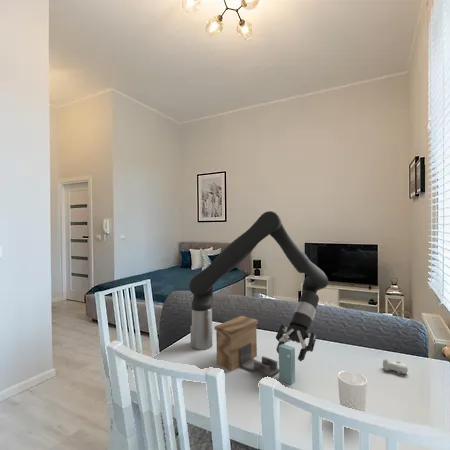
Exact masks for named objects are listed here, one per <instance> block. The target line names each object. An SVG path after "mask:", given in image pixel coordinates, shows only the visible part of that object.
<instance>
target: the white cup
mask: <svg viewBox="0 0 450 450" xmlns="http://www.w3.org/2000/svg"><path fill="white" fill-rule="evenodd" d="M337 380H338V381H337V382H338V386H337V387H338V394H339V395H338V397H339V406H340V405H342V406H345V407H348V408H352V409H355V410H359V411H363V412H365V413H366V405H367V392H368V391H367V390H368V389H367V387H368V379H367V377H365V376H364V375H363V374H361V373H359V372H356V371H354V370H353V371H352V370H343V371H340V372H338V374H337Z"/></svg>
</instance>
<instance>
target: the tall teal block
mask: <svg viewBox="0 0 450 450" xmlns="http://www.w3.org/2000/svg"><path fill="white" fill-rule="evenodd" d="M295 351H296V349H295V347H294V346H290V345H287V344H286V343H285V344H281V345H280V346H279V353H278V369H279V373H278V380H280V381H283V382H284V383H287V384H289V385H293V384H294V383H295V382H296V359H295V358H296V353H295Z"/></svg>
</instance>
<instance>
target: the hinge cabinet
mask: <svg viewBox="0 0 450 450" xmlns="http://www.w3.org/2000/svg"><path fill="white" fill-rule="evenodd" d="M258 323H259V320H258V319H256V318H252V317H248V316H246V315H245V316H244V315H240V316H237V317H235V318H231V319H229V320H227V321H224V322H221V323H220V324H217V325H215V326H214V330H215V333H216V365H218V366H220V367H222V368H225V369H226V370H228V371H230V372H233V371H235V370H236V369H238V368H241V369H244V370H246V371H248V372H251V373H254V374H256V375H258V376H261V377H264V378H265V377H267V376H268V377H272V378H273V377H275V376H276V375H277V374H279V366H278V361H277V360H275V359H272V358H269V357H267V356H264V355H263V356H261V361H259V360H257V359H255V358H256V357H257V356H258V352H257V350H258V348H257V347H258V346H257V341H258V340H257V324H258Z"/></svg>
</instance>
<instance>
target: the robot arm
mask: <svg viewBox="0 0 450 450" xmlns="http://www.w3.org/2000/svg"><path fill="white" fill-rule="evenodd" d="M268 236H271V238H272V239H274V240H275V242H276V243H277V245H278V246H279V247H280V249H281V250H282V251H283V253H284V254H285V256H286V258H287V259H288V261H289V262H290V263H291V265H292V266H293V268H294V269H295V270H296V272H298V274H299V273H300V274H305V275H306V277H305V278H304V280H303V283H302V287H301V288H302V289H301V295H300V297H299V301H298V303H297V305H296V307H295V309H294V311H293V314H292V316H291V319H290V323H289V325H288V326H285V325H283V324H281V325H280V327H279V329H278V331H277V334H276V335H275V339H276V341H278V344H277V346H276V352H277V354H279V346H280V345H281V344H285V345H286V343H289V342H291V341H292V342H296V343H297V344H300V345H301V348H300V351H299V353H298V356H297V360H299V362H303V361H304V360H305V357H306V354H307V352H313V351H314V347H315V345H316V344H315V343H316V339H317V336H316V334H315V333H314V332H311V333H310V330H311V328H312V325H313V322H314V320H315V315H316V311H317V307H318V304H319V300H320V298H319V295H318V294H317V292H318V291H320V290H323V289H326V287H328V285H329V278H328V276H327V275H326V273H325V272H324V270H322V269H321V268H320V267H318V266H317V265H316V264H315V263H313V262H312V261H311V260H310V259H309V257H308V256H307V254H306V253H305V252H304V250H302V248H301V247H300V246H299V245H298V243H296V242H295V240H294V239H293V238H292V236H290V234H289V232H288V231H287V230H286V228H285V226H284V224H283V223H282V219H281V216H280V215H279V214H278V213H277V212H274V211H265V212H262V214H261V215H260V216H259V217H258V218H257V219H256V220H255V222H254V223H253V224H252V225H251V226H250V227H249V228H248V229H247V230H246V231H245V232H243V233H241V235H239V236H237V238H235V239H234V240H233V241H232V242H231V243H229V244H228V245H227V246H226V247H225V248H224V249H223V250H222V251H220V253H219V254H218V255H217V256H216V257H215V258H214V259H213V261H212V262H210V264H208V266H207V267H206V268H204V269H203V270H202V271H200V272H199V273H197V274H196V275H194V276H192V278H191V279H190V281H189V285H188V287H189V291H190V292H191V294H193V298H192V301H191V325H190V328H189V330H190V331H189V332H190V347H191V348H193V349H195V350H198V351H199V350H201V351H203V350H208V349H210V348H212V347H213V342H214V341H213V307H212V306H213V299H214V296H213V294H214V284H215V283H216V282H217V281H218V280H219V279H221V278H222V277H223V276H225V275H226V274H228V273H229V272H231V271H232V270H233V269H235V268H236V267H237V266H238V265H239V264H240V263H242V262H244V260H245V259H246V258H247V257H248V256H249V255H250V254H251V253H252V252H253V250H254V249H255V248H256V247H257V245H258V244H260V243H261V242H262V241H263V240H264V239H265V238H266V237H268ZM308 338H309V340H308V343H306V339H308Z"/></svg>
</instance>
